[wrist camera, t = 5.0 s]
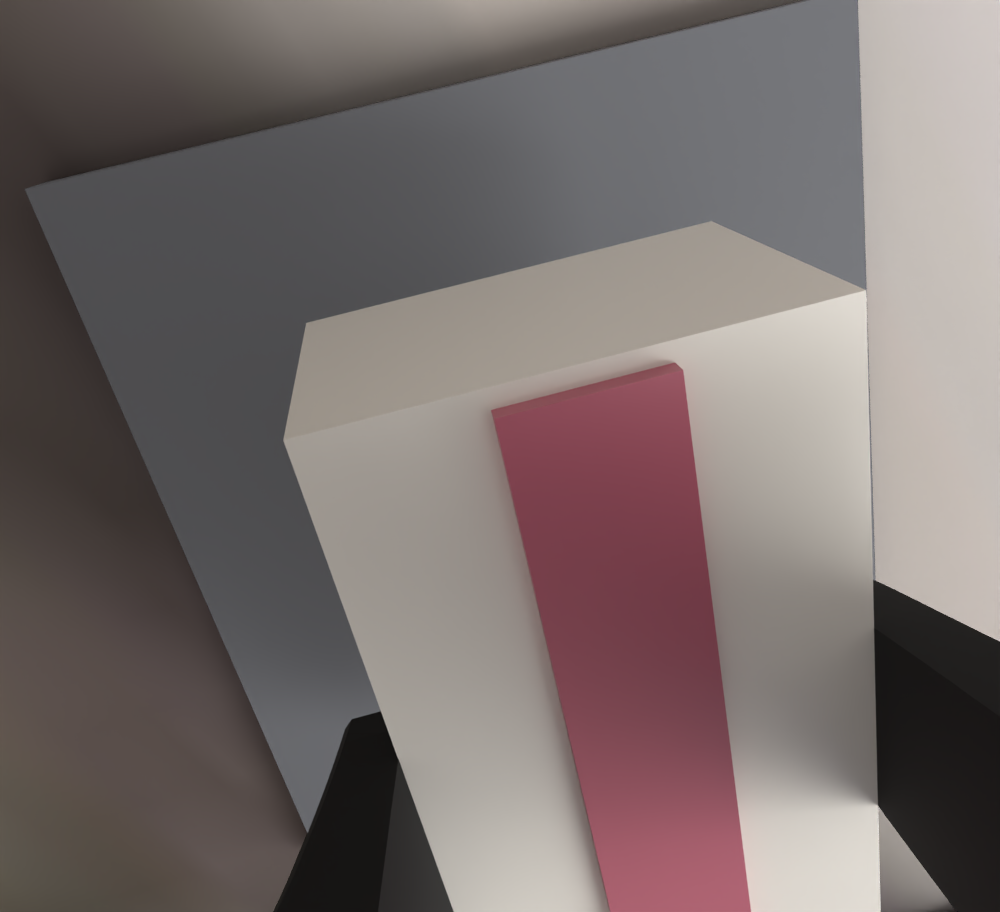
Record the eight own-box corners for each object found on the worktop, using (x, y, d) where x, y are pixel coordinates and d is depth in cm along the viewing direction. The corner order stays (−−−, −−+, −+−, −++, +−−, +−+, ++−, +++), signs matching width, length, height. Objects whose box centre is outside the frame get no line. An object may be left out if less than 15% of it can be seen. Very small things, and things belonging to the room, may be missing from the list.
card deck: (711, 221, 10) (879, 295, 7) (765, 759, 14) (889, 971, 11) (305, 322, 10) (281, 450, 7) (474, 841, 14) (511, 1083, 11)
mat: (859, 698, 19) (879, 723, 18) (328, 846, 18) (326, 878, 18) (830, -7, 13) (857, -12, 12) (44, 182, 12) (24, 188, 12)
